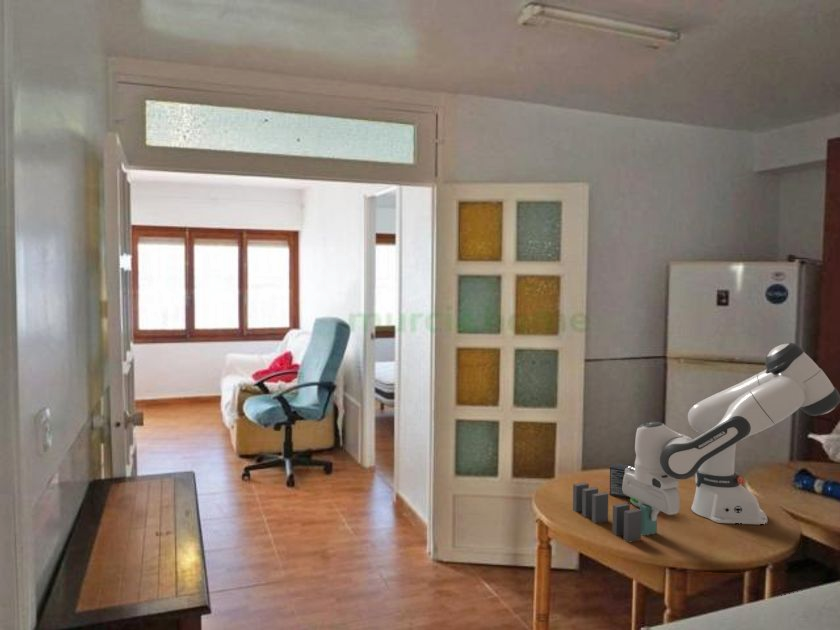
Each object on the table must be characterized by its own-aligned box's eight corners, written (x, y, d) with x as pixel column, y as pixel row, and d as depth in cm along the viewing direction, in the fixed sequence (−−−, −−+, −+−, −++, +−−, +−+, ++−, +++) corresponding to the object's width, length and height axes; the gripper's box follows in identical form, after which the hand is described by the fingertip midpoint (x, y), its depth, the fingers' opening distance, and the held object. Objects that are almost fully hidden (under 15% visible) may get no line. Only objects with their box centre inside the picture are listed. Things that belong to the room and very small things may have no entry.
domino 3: (591, 521, 196) (592, 494, 195) (604, 518, 197) (604, 492, 197) (595, 523, 194) (595, 496, 193) (607, 520, 196) (608, 493, 195)
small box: (643, 495, 218) (643, 466, 218) (639, 500, 213) (639, 471, 212) (613, 489, 224) (614, 462, 223) (608, 495, 218) (609, 466, 218)
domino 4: (612, 533, 186) (612, 505, 186) (625, 530, 188) (625, 502, 188) (616, 535, 185) (616, 507, 184) (629, 533, 187) (629, 504, 186)
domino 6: (640, 533, 186) (640, 505, 185) (652, 531, 188) (653, 502, 187) (644, 536, 184) (644, 507, 184) (656, 533, 186) (657, 505, 186)
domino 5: (623, 540, 182) (624, 511, 181) (636, 537, 184) (637, 508, 183) (627, 542, 180) (628, 513, 179) (640, 539, 182) (641, 510, 181)
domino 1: (572, 510, 205) (573, 484, 204) (585, 507, 207) (585, 482, 206) (576, 512, 203) (576, 486, 202) (588, 509, 205) (588, 484, 204)
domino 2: (582, 515, 200) (582, 489, 200) (594, 513, 202) (594, 487, 201) (585, 517, 198) (585, 491, 198) (597, 515, 200) (598, 488, 200)
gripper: (617, 465, 193) (617, 507, 194) (667, 486, 174) (666, 532, 175) (632, 463, 196) (632, 504, 197) (683, 483, 177) (682, 528, 178)
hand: (648, 518), depth 186 cm, fingers closed on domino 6, 2 cm apart
